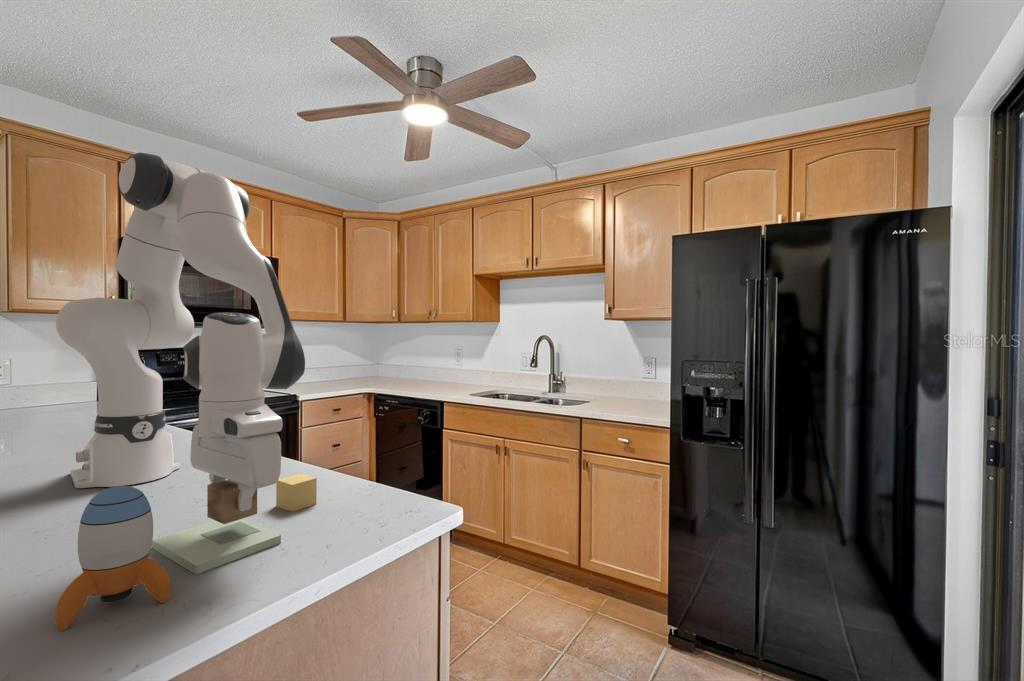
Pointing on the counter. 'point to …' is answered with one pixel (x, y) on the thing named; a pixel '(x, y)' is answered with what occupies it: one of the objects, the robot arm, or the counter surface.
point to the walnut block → (226, 502)
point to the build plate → (214, 544)
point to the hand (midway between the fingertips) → (232, 505)
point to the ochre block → (296, 492)
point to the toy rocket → (113, 553)
